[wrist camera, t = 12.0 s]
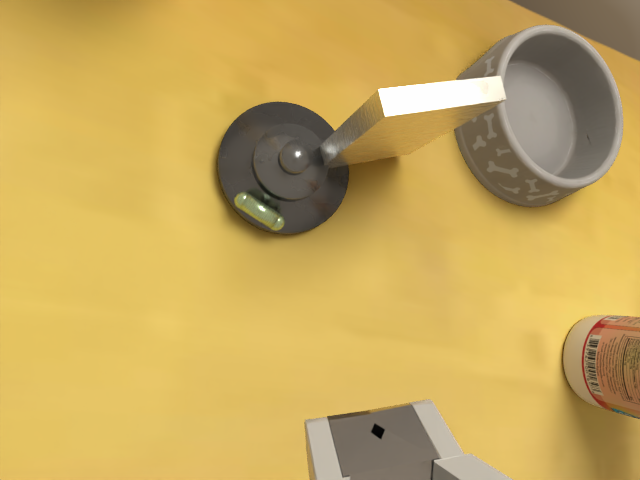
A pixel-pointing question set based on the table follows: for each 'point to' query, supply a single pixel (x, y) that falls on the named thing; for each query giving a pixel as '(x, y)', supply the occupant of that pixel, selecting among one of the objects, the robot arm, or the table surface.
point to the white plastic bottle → (605, 362)
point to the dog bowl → (543, 118)
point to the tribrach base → (248, 193)
